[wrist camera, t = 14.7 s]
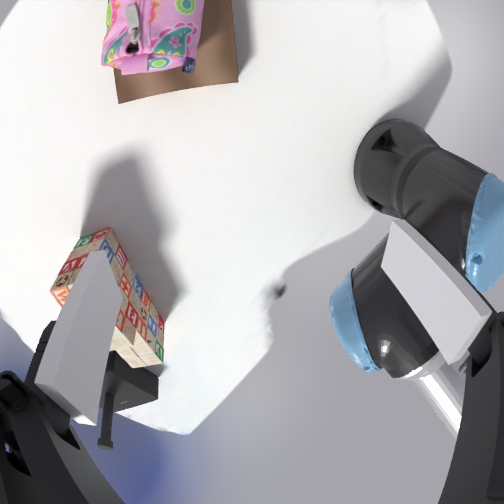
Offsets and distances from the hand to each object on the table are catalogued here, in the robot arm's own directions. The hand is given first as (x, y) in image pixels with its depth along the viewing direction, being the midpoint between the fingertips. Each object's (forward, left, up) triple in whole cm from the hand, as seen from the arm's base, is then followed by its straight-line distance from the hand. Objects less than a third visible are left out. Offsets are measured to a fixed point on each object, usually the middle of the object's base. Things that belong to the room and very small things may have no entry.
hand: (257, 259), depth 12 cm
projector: (+34, +46, -26) cm, 63 cm away
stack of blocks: (+19, +20, -26) cm, 38 cm away
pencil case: (+4, -20, -21) cm, 29 cm away
